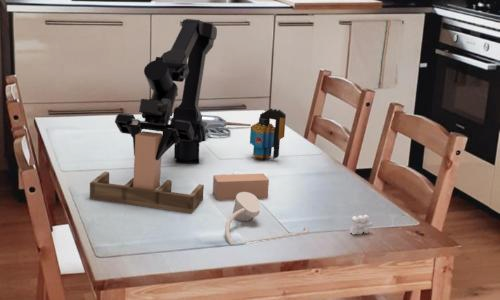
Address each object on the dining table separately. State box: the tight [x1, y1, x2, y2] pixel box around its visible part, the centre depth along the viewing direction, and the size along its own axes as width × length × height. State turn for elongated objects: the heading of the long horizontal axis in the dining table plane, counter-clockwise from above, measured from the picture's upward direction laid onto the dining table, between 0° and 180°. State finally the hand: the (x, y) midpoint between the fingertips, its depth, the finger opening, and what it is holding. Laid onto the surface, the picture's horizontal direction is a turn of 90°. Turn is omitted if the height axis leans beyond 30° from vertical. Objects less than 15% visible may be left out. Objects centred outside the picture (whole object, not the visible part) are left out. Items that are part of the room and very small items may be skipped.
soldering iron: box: [169, 114, 252, 139], centre depth 257 cm, size 6×28×16 cm
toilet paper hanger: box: [224, 192, 310, 244], centre depth 188 cm, size 20×5×16 cm
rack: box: [89, 171, 204, 214], centre depth 200 cm, size 9×26×4 cm, turn 77°
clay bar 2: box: [212, 173, 270, 201], centre depth 206 cm, size 13×5×5 cm, turn 105°
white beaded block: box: [349, 214, 373, 236], centre depth 187 cm, size 5×1×4 cm, turn 115°
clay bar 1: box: [133, 130, 163, 190], centre depth 197 cm, size 5×5×13 cm
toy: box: [249, 108, 286, 161], centre depth 234 cm, size 10×10×15 cm
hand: (145, 158), depth 196 cm, fingers closed on clay bar 1, 5 cm apart
